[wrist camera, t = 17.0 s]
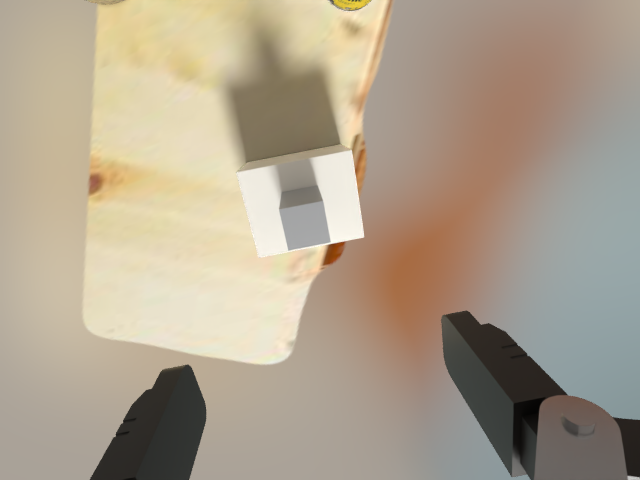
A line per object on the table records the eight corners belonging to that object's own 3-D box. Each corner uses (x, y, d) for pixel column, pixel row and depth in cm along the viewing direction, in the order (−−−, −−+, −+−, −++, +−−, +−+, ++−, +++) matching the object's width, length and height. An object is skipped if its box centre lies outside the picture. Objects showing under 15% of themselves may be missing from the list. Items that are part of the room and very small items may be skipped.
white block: (247, 162, 36) (222, 185, 23) (340, 144, 36) (365, 157, 24) (264, 233, 39) (251, 287, 26) (352, 216, 39) (379, 262, 26)
